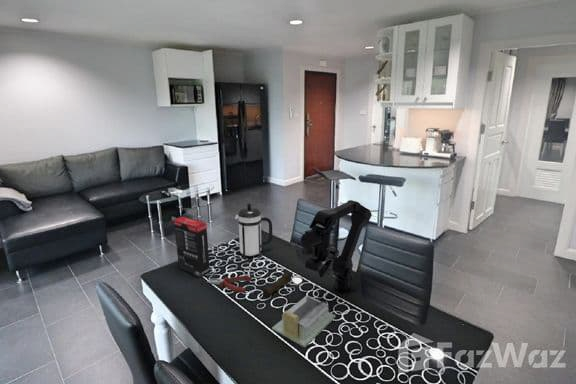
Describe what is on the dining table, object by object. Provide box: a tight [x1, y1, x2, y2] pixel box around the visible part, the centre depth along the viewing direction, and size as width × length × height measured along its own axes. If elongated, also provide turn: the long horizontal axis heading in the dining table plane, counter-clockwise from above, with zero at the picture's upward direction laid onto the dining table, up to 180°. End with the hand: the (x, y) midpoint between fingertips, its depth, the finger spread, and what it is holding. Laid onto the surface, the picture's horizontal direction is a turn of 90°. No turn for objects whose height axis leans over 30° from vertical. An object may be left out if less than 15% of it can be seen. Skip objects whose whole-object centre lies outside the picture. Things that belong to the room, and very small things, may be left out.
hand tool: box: [262, 271, 292, 298], centre depth 145 cm, size 19×4×5 cm, turn 141°
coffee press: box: [234, 202, 273, 260], centre depth 175 cm, size 17×16×30 cm
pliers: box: [206, 275, 253, 293], centre depth 148 cm, size 12×20×3 cm, turn 78°
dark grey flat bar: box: [293, 298, 319, 321], centre depth 120 cm, size 14×4×1 cm, turn 142°
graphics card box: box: [173, 216, 211, 278], centre depth 157 cm, size 17×7×27 cm, turn 58°
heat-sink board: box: [271, 294, 336, 349], centre depth 120 cm, size 21×15×9 cm
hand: (321, 276), depth 132 cm, fingers closed
